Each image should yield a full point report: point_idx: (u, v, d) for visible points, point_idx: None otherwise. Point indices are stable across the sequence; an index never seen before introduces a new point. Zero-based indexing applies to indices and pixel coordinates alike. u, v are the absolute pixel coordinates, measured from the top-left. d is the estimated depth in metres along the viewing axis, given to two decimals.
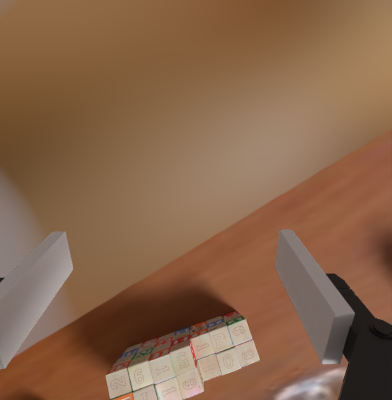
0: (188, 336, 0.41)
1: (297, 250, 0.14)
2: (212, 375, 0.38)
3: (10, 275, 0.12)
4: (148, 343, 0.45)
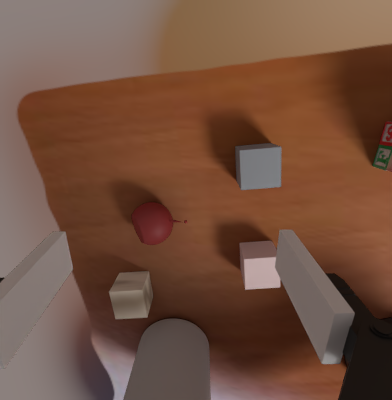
0: None
1: (297, 250, 0.14)
2: None
3: (10, 275, 0.12)
4: None
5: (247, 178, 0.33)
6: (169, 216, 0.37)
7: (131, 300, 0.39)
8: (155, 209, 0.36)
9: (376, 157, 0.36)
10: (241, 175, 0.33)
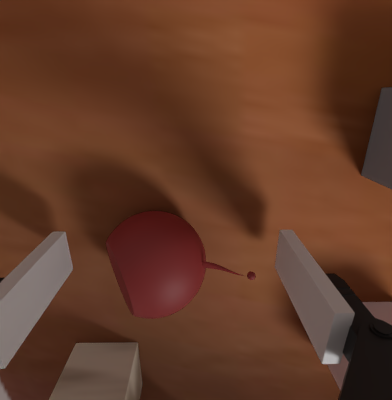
0: None
1: (297, 250, 0.14)
2: None
3: (10, 275, 0.12)
4: None
5: None
6: (201, 251, 0.15)
7: None
8: (170, 234, 0.13)
9: None
10: None
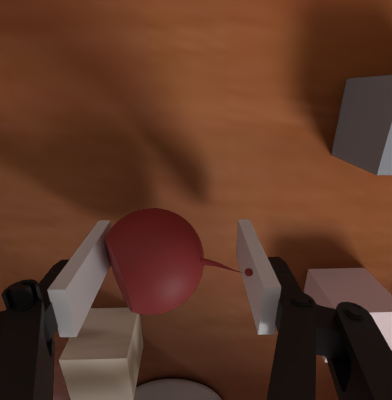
0: None
1: (248, 236, 0.15)
2: None
3: (74, 256, 0.13)
4: None
5: None
6: (199, 248, 0.15)
7: (103, 374, 0.20)
8: (168, 231, 0.14)
9: None
10: (388, 140, 0.14)
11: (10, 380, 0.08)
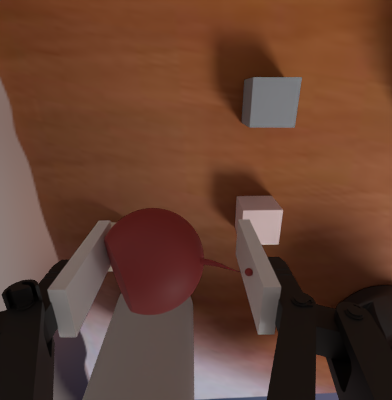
0: None
1: (248, 236, 0.15)
2: None
3: (74, 256, 0.13)
4: None
5: (258, 112, 0.28)
6: (199, 248, 0.15)
7: None
8: (168, 231, 0.13)
9: None
10: (251, 109, 0.28)
11: (10, 380, 0.08)
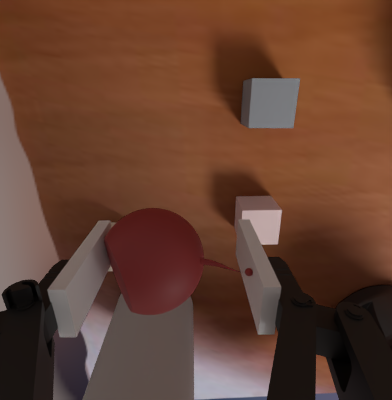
0: None
1: (248, 236, 0.15)
2: None
3: (74, 256, 0.13)
4: None
5: (257, 113, 0.28)
6: (199, 248, 0.15)
7: None
8: (168, 231, 0.13)
9: None
10: (250, 110, 0.28)
11: (10, 380, 0.08)
